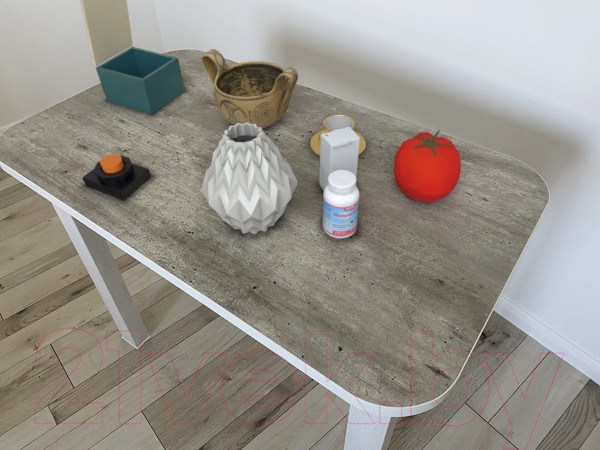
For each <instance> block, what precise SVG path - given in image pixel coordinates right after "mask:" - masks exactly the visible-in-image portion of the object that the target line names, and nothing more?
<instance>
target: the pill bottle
mask: <svg viewBox="0 0 600 450" xmlns="http://www.w3.org/2000/svg"><path fill="white" fill-rule="evenodd" d="M322 196H323V197H322V229H323V231H324V232H325V233H326V234H327V235H328V236H330V237H331V238H334V239H346V238H350V237H351V236H353V235H354V234H355V233H356V230H357V228H358V227H357V226H358V217H359V205H360V191H359V188H358V186H357V176H355V175H354V174H353V173H352V172H350V171H347V170H337V171H334V172H332V173H331V174H330V175H329V177H328V185H327V186H326V187H325V189H324V190H323V195H322Z"/></svg>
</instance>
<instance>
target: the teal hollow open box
mask: <svg viewBox="0 0 600 450" xmlns="http://www.w3.org/2000/svg"><path fill="white" fill-rule="evenodd" d="M95 69H96V73H97V76H98V79H99V82H100V86H101V88H102V91H103V95H104V97H105V99H106V102H109V103H113V104H116V105H119V106H121V107H126V108H129V109H132V110H136V111H139V112H142V113H145V114H149V115H154V114H155V113H157V112H158V111H159V110H161V109H163V108H164V107H165V106H166V105H168V104H169V103H171V102H172V101H173V100H174V99H176V98H177V97H179V96H180V95H181V94H183V93H184V92H185V91H186V89H185V84H184V80H183V75H182V70H181V65H180V61H179V57H177V56H172V55H168V54H164V53H161V52H160V53H159V52H156V51H152V50H147V49H143V48H140V47H135V46H131V47H129V48H127V49H125V50H124V51H122V52H120V53H118V54H117V55H115V56H113V57H111V58H110V59H108V60H106V61H104V62H103V63H101V64H99V65H97V66H95Z"/></svg>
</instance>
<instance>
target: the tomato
mask: <svg viewBox="0 0 600 450" xmlns="http://www.w3.org/2000/svg"><path fill="white" fill-rule="evenodd" d="M440 131H441V129H438V130H437V131H436V133H435V134H434V135H433V134H431V133H430V132H429V131H424V132H419V133H417V134H416V135H415V136H414V135H412V137H411V138H407V139H406V140H404V141H402V143H401V144H400V146H399V147H398V148H397V150H396V153H395V155H394V160H393V161H394V162H393V175H394V180H395V184H396V186H397V188H398V189H399V190H400V191H401V192H402V193H403V194H404V195H405V196H407V197H409V198H410V199H412V200H414V201H418V202H422V203H434V202H436V201H438V200H440V199H442V198H445V197H446V196H448V195H450V193H452V191H454V189H455V188H456V187H457V185H458V182H459V180H460V177H461V173H462V172H461V171H462V170H461V169H462V165H461V164H462V161H461V160H462V159H461V155H460V152H459V150H458V149H457V147H456V145H455V144H454V143H453V141H452V140H450V139H448V138H447V137H443V136H438V135H439V133H440Z"/></svg>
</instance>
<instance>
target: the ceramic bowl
mask: <svg viewBox="0 0 600 450" xmlns="http://www.w3.org/2000/svg"><path fill="white" fill-rule="evenodd" d="M201 62H202V64H203V67H204V69H205V71H206V73H207V74H208V76H209V78H210V80H211V81H212V83H213V85H214V86H213V87H214V88H213V93H214V94H213V95H214V101H215V104H216V107H217V110H218V111H219V113H220V115H221V116H222V118H224V120H225V121H227V122H228V123H229V124H230V125H231V126H235V125H236V124H237V123H241V124H244V123H246V122H248V123H249V124H256V125H257V127H261V128H262V130H263V129H266V128H269V127H271V126H273V125H274V124H275V123H277V122H278V121H279V120H280V119H281V118H282V117H284V115H285V113H286V112H287V110H288V107H289V104H290V101H291V99H292V98H291V97H292V94H293V92H294V89H295V88H296V85H297V82H298V80H299V79H298V78H299V74H298V70H297V69H295V68H294V67H287V68H286V69H284V68H283V66H281V65H279V64H276V63H275V62H271V61H266V60H265V61H263V60H252V61H251V60H249V61H248V60H247V61H242V62H238V63H234V64H233V65H228V64H227V62H226V59H225V58H224V55H223V54H222V53H221V52H220V51H219V50H218V49H215V48H211V49H209V50H208V51H207V52H205V53H204V54H203V55H202V56H201Z"/></svg>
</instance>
